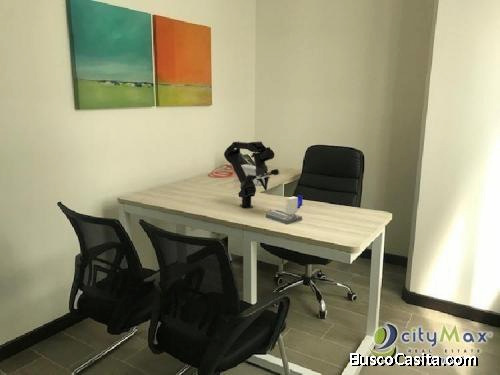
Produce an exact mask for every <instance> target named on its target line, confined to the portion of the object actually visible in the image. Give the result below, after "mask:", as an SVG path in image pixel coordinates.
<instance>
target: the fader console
mask: <svg viewBox="0 0 500 375" xmlns="http://www.w3.org/2000/svg"><path fill="white" fill-rule="evenodd" d="M265 218H267V219H270V220H273V221H276V222H279V223H281V224H282V223H283V224H284V225H289V224H293V223H296V222H299V221H302V220H303V216H302V215H299V214H297V213H295V215H294V217H293V218H292V217H291V216H289V214H287V213H286V210H282V209H278V208H277V209H276V210H275V211H274V210H270V212H268V213H265Z"/></svg>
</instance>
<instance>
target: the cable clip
mask: <svg viewBox="0 0 500 375" xmlns="http://www.w3.org/2000/svg"><path fill="white" fill-rule="evenodd" d="M296 197H298V207H297V210H298V209H300V208H301V206H303V198H304V197H303V195H296Z"/></svg>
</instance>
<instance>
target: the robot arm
mask: <svg viewBox="0 0 500 375" xmlns="http://www.w3.org/2000/svg"><path fill="white" fill-rule="evenodd" d="M241 150H248V152H251V157H250V158H253V160H254V166H256V169H255V172H256V175H255V176H254V175H249V176H246V174H245V172H244V170H243V168H242V166H241V165H242V164H241V162H240V153H241ZM223 156H224V158H225V160H226V161H227V162H228V163H229V164H231V166H232V168H233V170H234V172H235V174H236V177H237V179H238V180H239V183H240V188H239V189H240V190H239V192H238V194H237V195H238V197H239V198H241V204H239V206H240V207H241V208H242V209H247V208H248V209H250V208H254V206H253V205H252V197H255V196H256V193H257V187H256V185H255V184H254V182H253V181H252V180H254V179H256V180H258V181H260V183H261V184H262V185H261V186H262V187H263V189H264V191H267V190H268V183H269V180H270V179H271V176H278V175H280V170H279V169H277V168H276V169H272V170H270V171H269V167H268V165H266V162H268V161H270V160H273V159H274V158H275V152H274V151H273V149H271V147H269V146H267V147H266V146H265V145H264V143H263V142H262V141H250V142H248V141H247V142H246V141H233V142H232V143H231V145H229V146H228V147H226V149H225V151H224V153H223ZM268 171H269V172H268ZM262 177H265V178H264V180H263V179H262ZM264 181H265V184H264Z"/></svg>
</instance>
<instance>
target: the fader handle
mask: <svg viewBox="0 0 500 375" xmlns="http://www.w3.org/2000/svg"><path fill="white" fill-rule="evenodd" d="M297 207H298V197H297V196H290V197H286V206H285V211H286V213H287V214H289V216H291V217H292V218H293V217H294V215H295V214H297V213H298V209H297Z"/></svg>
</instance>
